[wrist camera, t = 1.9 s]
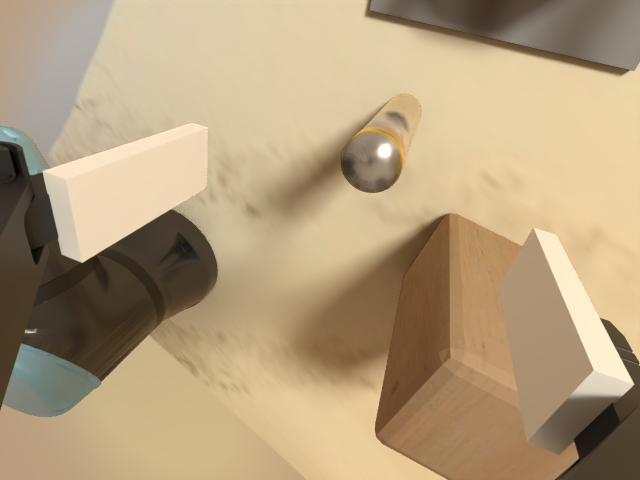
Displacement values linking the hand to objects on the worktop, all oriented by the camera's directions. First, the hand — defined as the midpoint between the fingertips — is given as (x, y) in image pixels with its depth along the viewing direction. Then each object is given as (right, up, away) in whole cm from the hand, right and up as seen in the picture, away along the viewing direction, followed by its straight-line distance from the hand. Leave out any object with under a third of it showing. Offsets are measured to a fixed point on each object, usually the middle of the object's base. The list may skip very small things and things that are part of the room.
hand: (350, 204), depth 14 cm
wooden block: (+14, -4, +24) cm, 28 cm away
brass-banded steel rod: (+6, +10, +18) cm, 22 cm away
